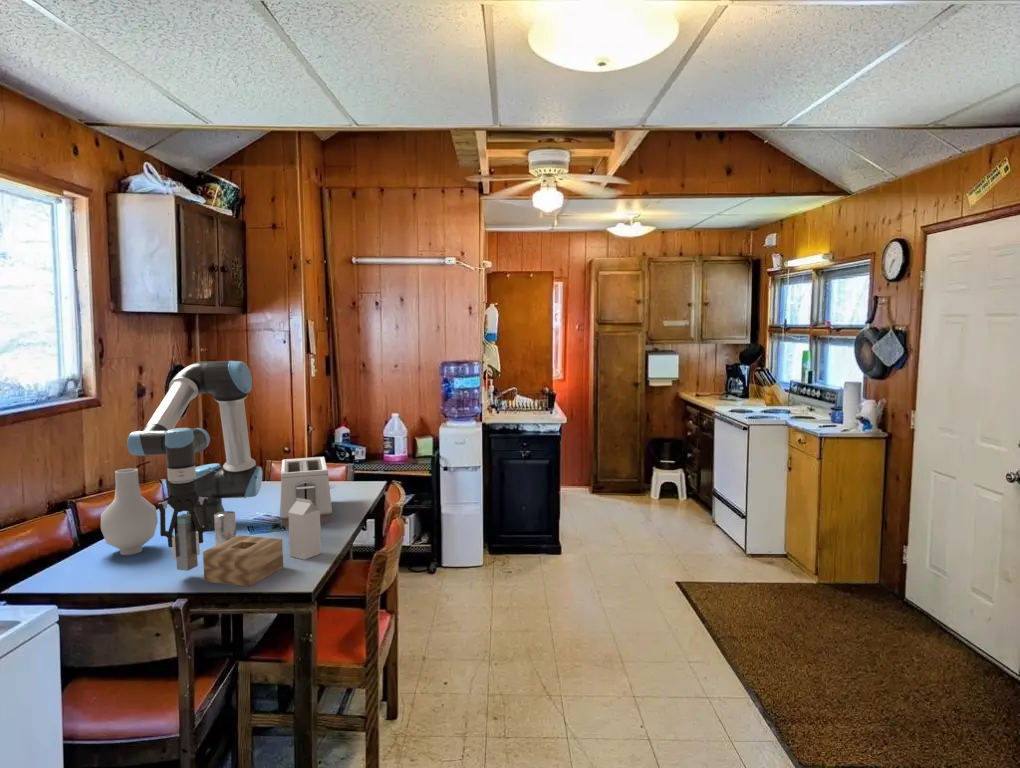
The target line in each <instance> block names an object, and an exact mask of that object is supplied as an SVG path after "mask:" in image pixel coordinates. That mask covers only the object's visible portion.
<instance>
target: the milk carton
mask: <svg viewBox="0 0 1020 768" xmlns="http://www.w3.org/2000/svg"><path fill="white" fill-rule="evenodd" d="M288 514H289V527H288V534H289V536H288V538H289V539H288V540H289V556H290V557H293V558H297V559H299V560H303V561H304V560H308V559H310V558H312V557H315V556H318V555H321V554H322V540H321V539H322V536H321V532H322V531H321V523H320V510H319V509H318V508H316V507H315V506H314V505H313V503H312V502H311V500H306V499H301V498H296V502H295V504H294V505H293V506H292V508H291V509H290V510H289V512H288Z"/></svg>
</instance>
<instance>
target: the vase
mask: <svg viewBox="0 0 1020 768" xmlns="http://www.w3.org/2000/svg"><path fill="white" fill-rule="evenodd" d="M114 474H115V475H114V476H115V489H114V491H115V492H114V499H113V501H112V502H111V503H110V504H109V505H108V506H107V507H106V508H105V509H104V510H103V512H102V513H101V514H100V531H101V533H102V535H103V538H104V540H105V543H106V544H108V546H112V547H114V548H115V549H118V550H119V553H120V555H122V556H130V555H135V554H139V553H141V552H142V551H143V546H144V545H145V544H146V543H147V542H149V541H150V540H151V539H152V538H153V537H154V536H155V533H156V530H157V525H158V523H159V522H158V513H157V512H158V511H157V508H156V506H155V505H153V504H152V503H151V502H150V501H148V500H147V499H146V498H145V497H143V496H142V493H141V488H140V483H139V469H138V468H123V469H118V470H115V471H114Z"/></svg>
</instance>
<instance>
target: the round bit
mask: <svg viewBox="0 0 1020 768" xmlns="http://www.w3.org/2000/svg"><path fill="white" fill-rule="evenodd" d="M214 521H215V529H214V538H215V539H214V541H215V546H217V545H219V544H221V543H223V542H225V541H227V540H230V539H232V538H234V537H236V536H237V522H236V521H237V519H236V511H232V510H227V511H225V510H224V512H219V513H216V514H215V515H214Z"/></svg>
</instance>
